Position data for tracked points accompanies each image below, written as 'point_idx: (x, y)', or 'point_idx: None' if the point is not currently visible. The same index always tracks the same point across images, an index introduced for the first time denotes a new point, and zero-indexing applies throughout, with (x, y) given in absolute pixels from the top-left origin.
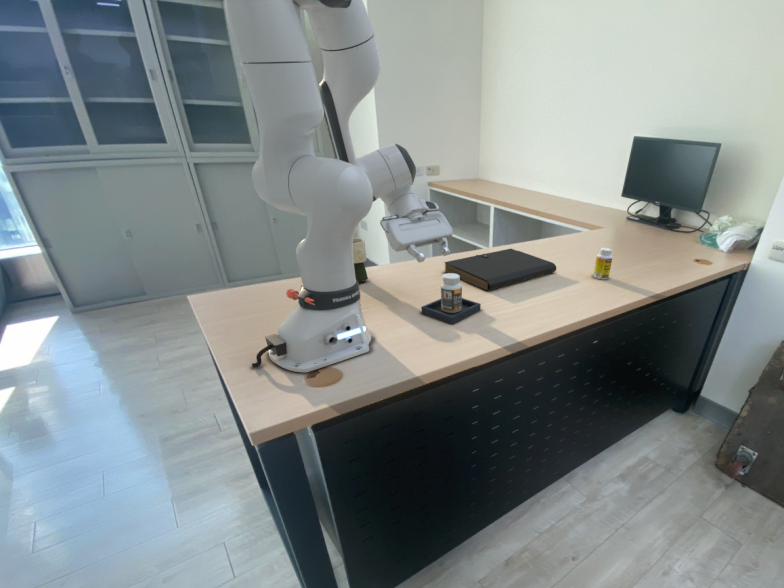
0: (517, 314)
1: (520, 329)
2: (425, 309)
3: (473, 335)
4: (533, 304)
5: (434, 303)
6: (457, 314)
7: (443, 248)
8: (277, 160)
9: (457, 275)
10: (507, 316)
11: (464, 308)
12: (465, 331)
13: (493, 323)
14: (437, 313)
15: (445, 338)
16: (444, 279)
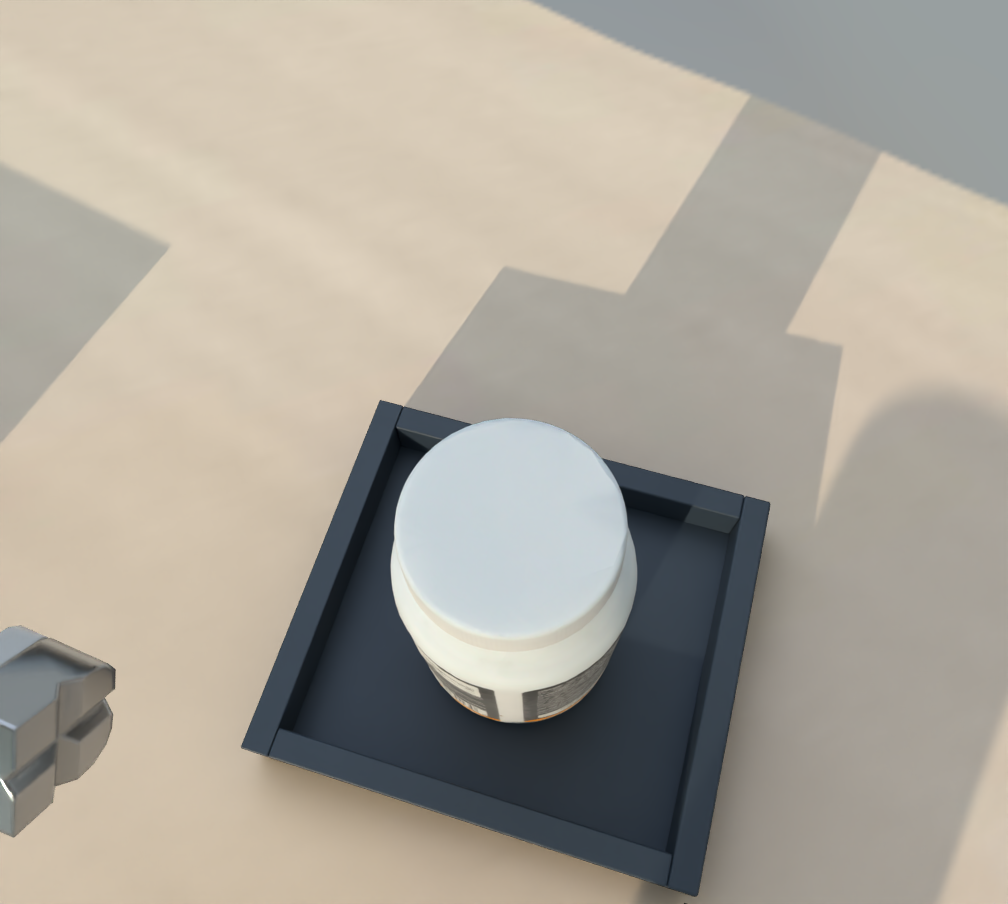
0: (364, 183)
1: (594, 115)
2: (709, 831)
3: (836, 327)
4: (141, 138)
5: (532, 809)
6: (690, 487)
7: (18, 748)
8: None
9: (461, 454)
10: (425, 228)
11: None
12: (810, 394)
13: (585, 273)
14: (736, 671)
15: (996, 476)
16: (618, 577)
